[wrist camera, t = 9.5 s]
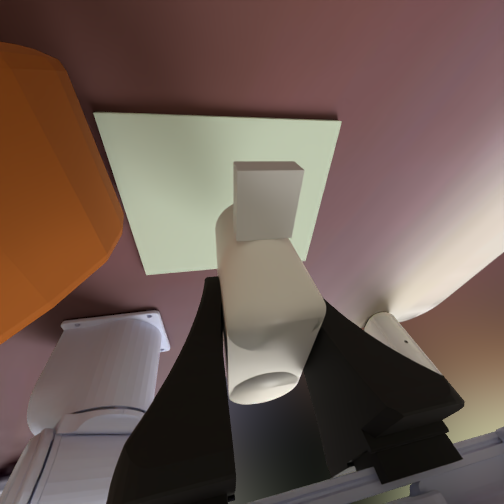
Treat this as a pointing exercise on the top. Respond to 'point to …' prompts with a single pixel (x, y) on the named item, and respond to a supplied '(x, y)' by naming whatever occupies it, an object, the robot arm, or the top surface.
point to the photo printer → (396, 338)
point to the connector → (264, 283)
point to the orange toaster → (47, 190)
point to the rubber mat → (205, 177)
